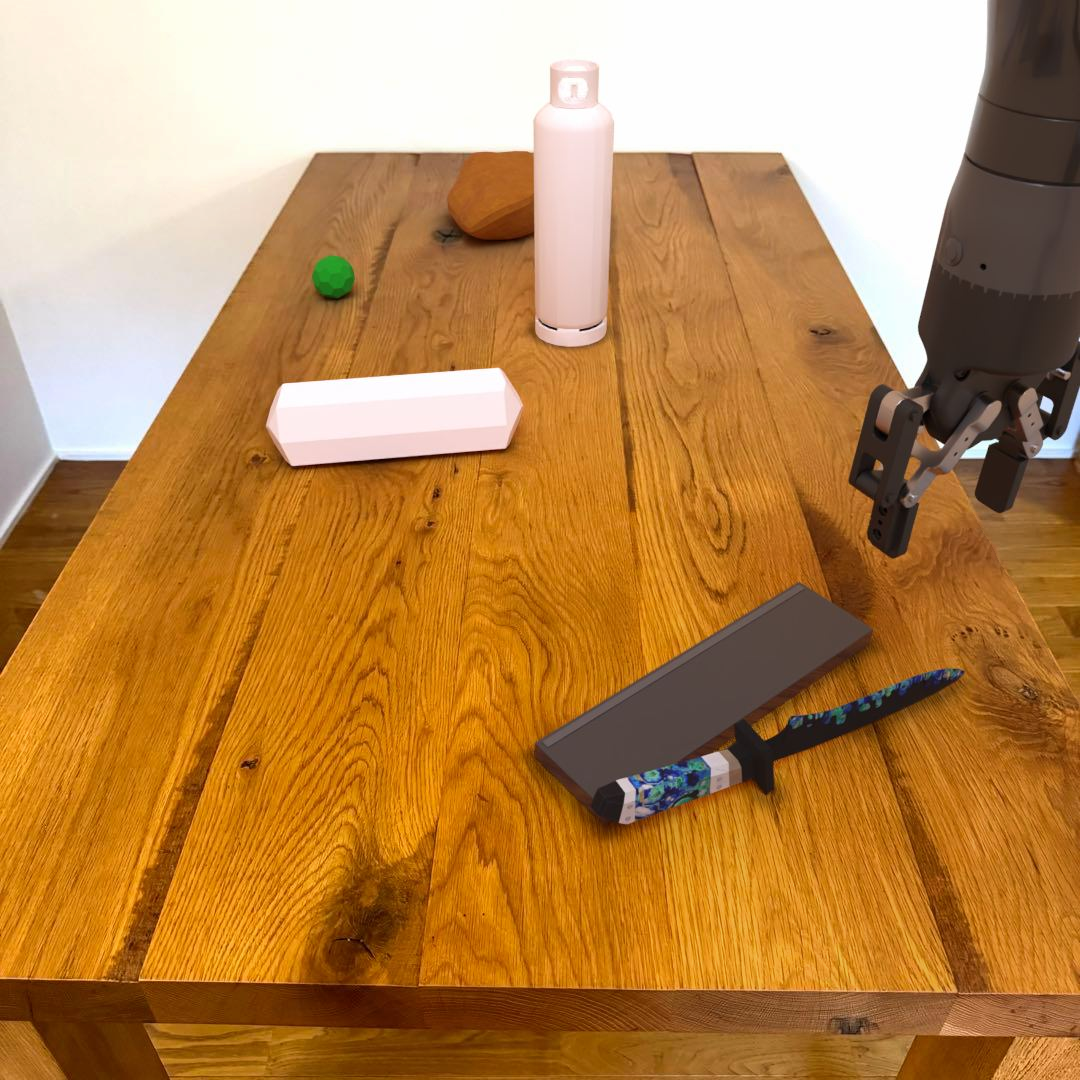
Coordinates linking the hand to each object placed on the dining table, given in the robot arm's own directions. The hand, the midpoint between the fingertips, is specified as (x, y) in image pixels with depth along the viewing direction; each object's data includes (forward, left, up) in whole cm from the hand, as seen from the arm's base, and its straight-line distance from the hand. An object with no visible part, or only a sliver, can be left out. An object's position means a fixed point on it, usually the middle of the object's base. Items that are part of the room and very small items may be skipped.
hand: (940, 526), depth 60 cm
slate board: (+9, +7, -17) cm, 20 cm away
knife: (+2, +7, -17) cm, 19 cm away
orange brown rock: (+90, -34, -17) cm, 98 cm away
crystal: (+51, +6, -17) cm, 54 cm away
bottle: (+59, -22, -17) cm, 65 cm away
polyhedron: (+84, -6, -17) cm, 86 cm away
